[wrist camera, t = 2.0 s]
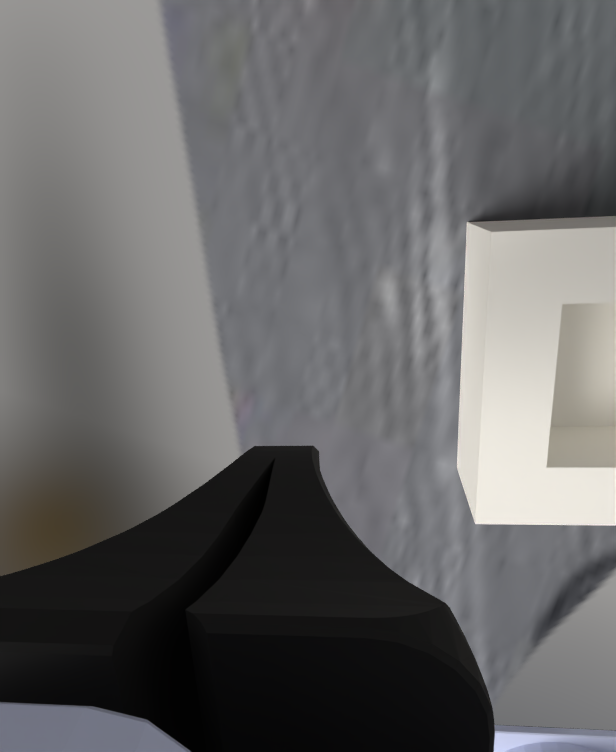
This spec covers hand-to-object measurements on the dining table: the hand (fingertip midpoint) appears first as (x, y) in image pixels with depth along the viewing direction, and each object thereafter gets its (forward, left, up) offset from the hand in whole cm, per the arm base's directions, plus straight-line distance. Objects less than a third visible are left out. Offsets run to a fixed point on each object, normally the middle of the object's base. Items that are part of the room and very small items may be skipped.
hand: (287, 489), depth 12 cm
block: (0, -10, -10) cm, 14 cm away
